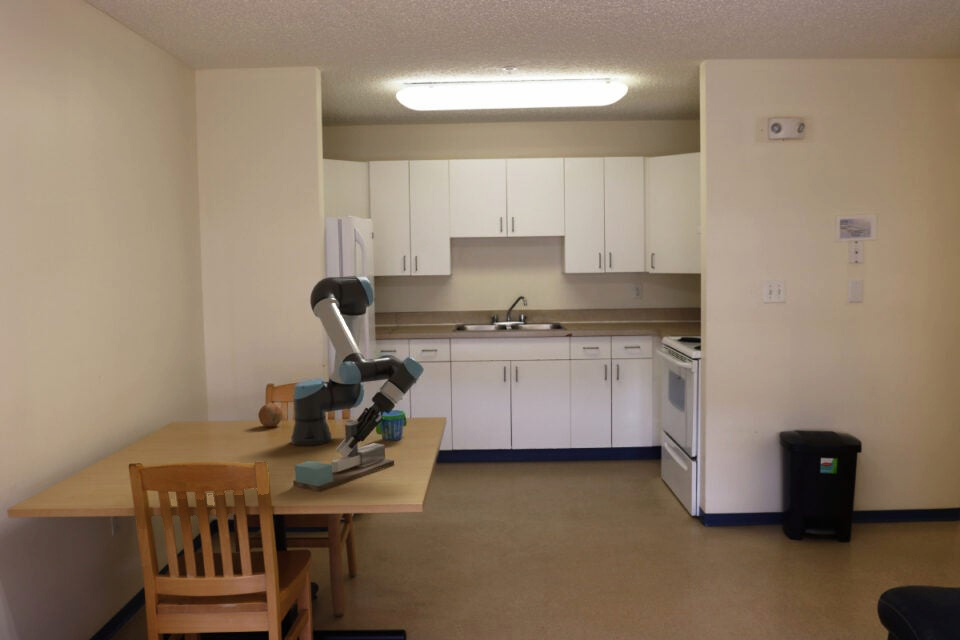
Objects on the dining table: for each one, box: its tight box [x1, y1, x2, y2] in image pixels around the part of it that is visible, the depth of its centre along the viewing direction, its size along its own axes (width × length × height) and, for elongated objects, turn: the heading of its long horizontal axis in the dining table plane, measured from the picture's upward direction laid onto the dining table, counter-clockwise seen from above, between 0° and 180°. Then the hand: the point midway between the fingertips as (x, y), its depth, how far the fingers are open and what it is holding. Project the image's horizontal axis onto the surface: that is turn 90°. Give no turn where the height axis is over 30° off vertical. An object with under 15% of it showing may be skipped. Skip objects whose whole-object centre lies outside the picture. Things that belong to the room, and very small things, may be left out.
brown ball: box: [258, 402, 283, 428], centre depth 325 cm, size 10×10×10 cm
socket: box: [294, 460, 333, 486], centre depth 239 cm, size 10×6×5 cm, turn 55°
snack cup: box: [375, 409, 408, 441], centre depth 298 cm, size 16×10×10 cm
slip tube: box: [330, 419, 361, 472], centre depth 255 cm, size 3×22×14 cm, turn 145°
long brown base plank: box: [292, 442, 395, 492], centre depth 251 cm, size 12×34×6 cm, turn 145°
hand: (340, 453), depth 251 cm, fingers closed on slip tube, 4 cm apart
